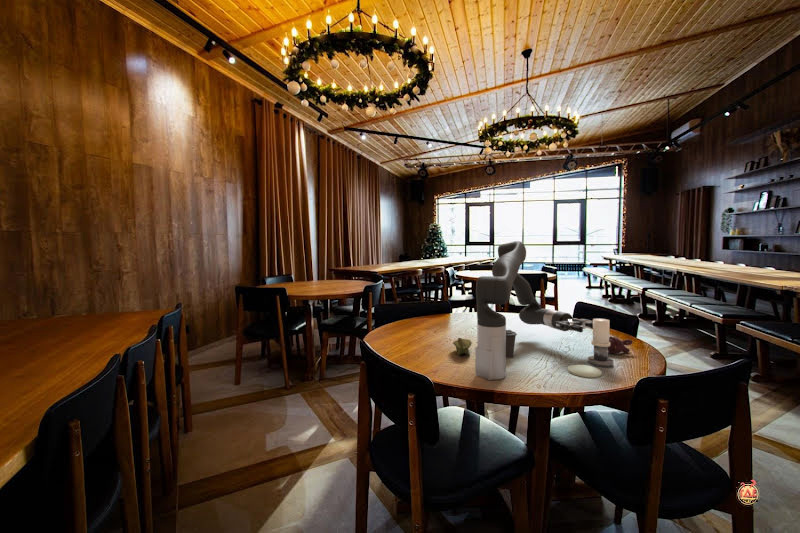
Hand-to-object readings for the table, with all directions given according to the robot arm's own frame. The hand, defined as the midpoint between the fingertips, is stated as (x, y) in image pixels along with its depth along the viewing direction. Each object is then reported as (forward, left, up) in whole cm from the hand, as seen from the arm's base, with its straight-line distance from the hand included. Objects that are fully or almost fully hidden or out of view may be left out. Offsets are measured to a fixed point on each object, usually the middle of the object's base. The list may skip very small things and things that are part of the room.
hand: (591, 328), depth 128 cm
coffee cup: (-21, +22, -12) cm, 33 cm away
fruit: (-33, +34, -12) cm, 49 cm away
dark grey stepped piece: (-1, -4, -12) cm, 13 cm away
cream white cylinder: (-1, -4, -5) cm, 7 cm away
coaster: (-14, -5, -12) cm, 19 cm away
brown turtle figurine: (+15, -1, -12) cm, 19 cm away
